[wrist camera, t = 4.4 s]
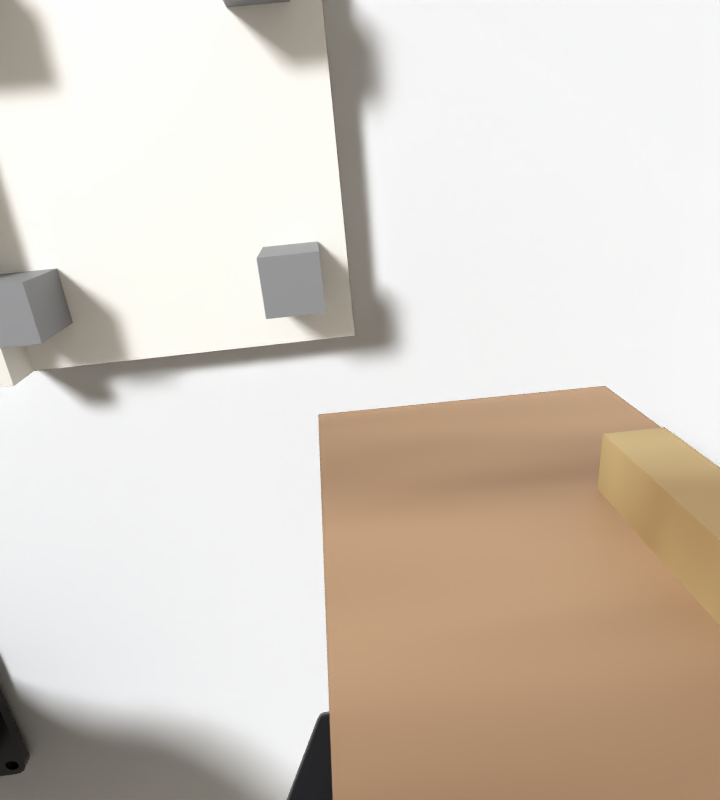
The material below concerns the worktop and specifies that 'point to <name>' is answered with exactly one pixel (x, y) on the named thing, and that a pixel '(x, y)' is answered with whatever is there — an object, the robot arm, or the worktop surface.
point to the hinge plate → (166, 181)
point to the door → (520, 602)
